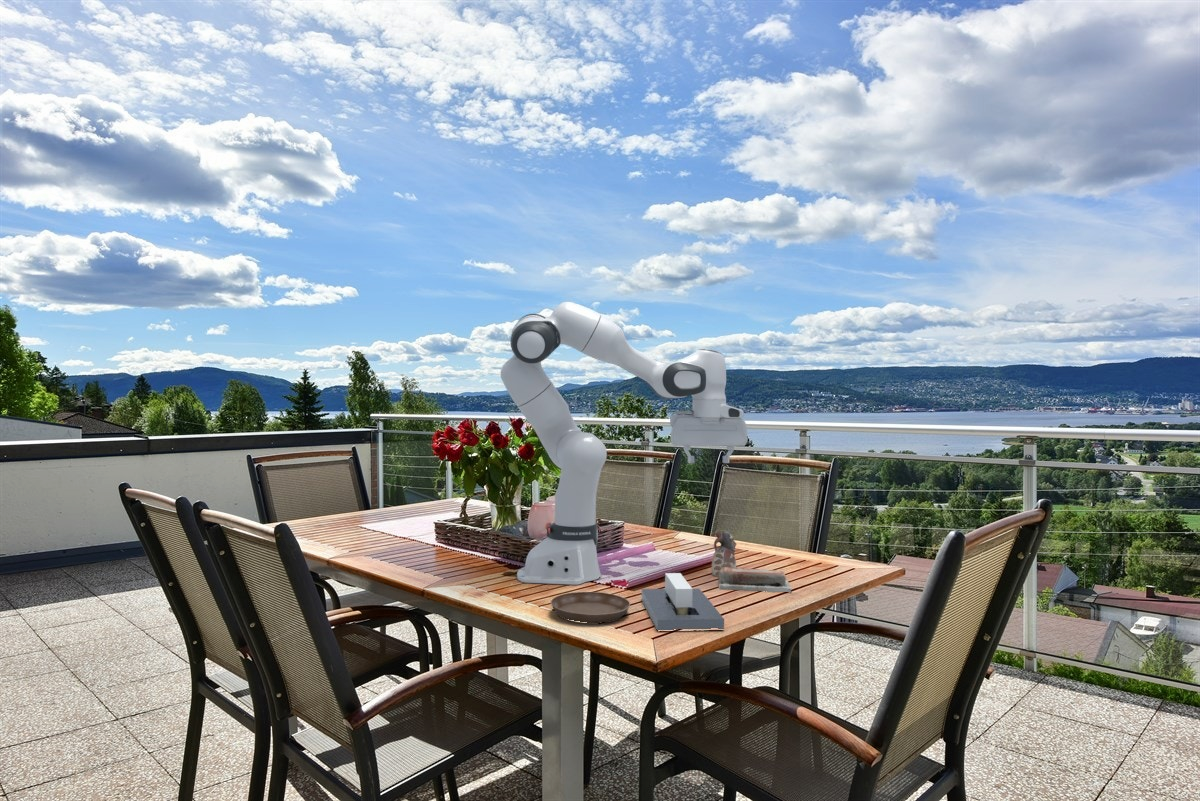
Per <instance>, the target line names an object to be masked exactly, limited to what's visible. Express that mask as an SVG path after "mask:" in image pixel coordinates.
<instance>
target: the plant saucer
mask: <svg viewBox="0 0 1200 801" xmlns="http://www.w3.org/2000/svg"><path fill="white" fill-rule="evenodd" d="M550 605H551V607H552V608H553V610H554V611H555V613H556V614H557V615H558V616H559V617H560V616H561V617H563V618H565V619H569V620H574V621H580V622H587V623H600V622H608V623H610V622H609V621H612V622H614V621H613V620H615V621H617V620H616V619H618V620H619V619H621V618H622V617H623V616H624V615H625V614H626V612H627V611H628V610H629V608H630V606H631V602H630V601H629V600H628V599H626V598H625V597H622V596H620V595H617V594H612V593H607V592H598V591H578V592H567V593H563V594H560V595H557V596H554V597H553V598H551V600H550ZM561 617H560V618H561ZM563 618H562V619H563ZM565 619H564V620H565Z"/></svg>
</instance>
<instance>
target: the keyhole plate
mask: <svg viewBox="0 0 1200 801" xmlns="http://www.w3.org/2000/svg"><path fill="white" fill-rule="evenodd" d="M641 601H642V603H643V605H644V608H645V609H646V610H645V611H646V612H647V613H648V616H649V617H650V620H651V619H652V620H651V622H652V621H653V622H652V624H653V623H654V624H653V625H655V626H654V628H655V627H656V628H655V630H656V629H657V630H674V629H676V630H677V629H711V628H718V629H724V630H725V618H724V617H723V615H722V614H721V613H720V612H719V611H718V610H717V609H716V607H715V606H714V605H713V603H712V602H711V601H710V600H709V599H708V597H707V595H705V594H704V592H703V591H702V590H701V588H692V607H688V615H676V607H675V605H674V604H673V603H669V596H668V594H667V593H666V591H665V588H642V589H641ZM657 630H656V631H657Z"/></svg>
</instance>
